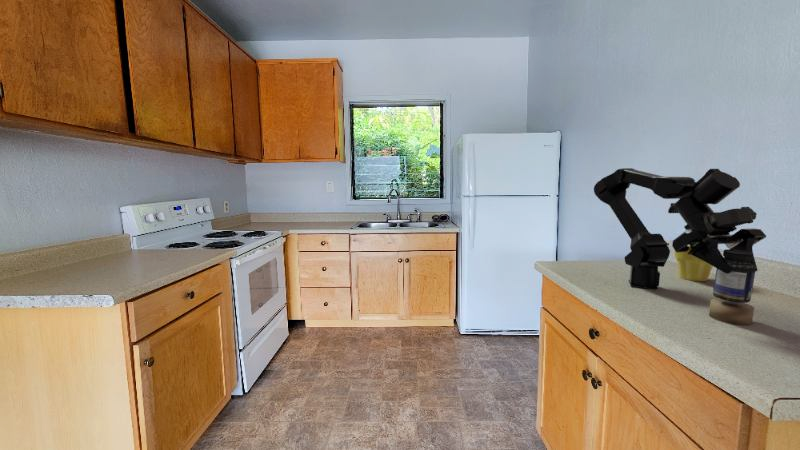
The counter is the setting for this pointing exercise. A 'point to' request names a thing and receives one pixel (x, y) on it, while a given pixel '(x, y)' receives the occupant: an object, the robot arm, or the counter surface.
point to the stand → (731, 312)
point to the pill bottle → (735, 277)
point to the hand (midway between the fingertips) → (742, 272)
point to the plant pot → (692, 266)
